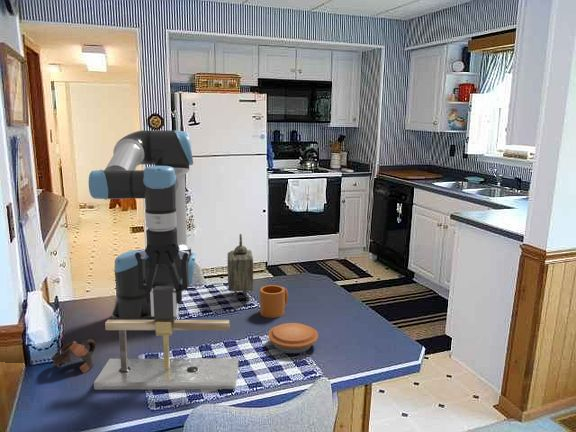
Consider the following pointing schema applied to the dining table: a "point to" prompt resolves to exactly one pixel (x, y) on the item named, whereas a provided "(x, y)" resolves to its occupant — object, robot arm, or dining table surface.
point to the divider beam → (150, 325)
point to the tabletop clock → (240, 270)
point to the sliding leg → (164, 317)
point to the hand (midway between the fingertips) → (165, 314)
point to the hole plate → (169, 374)
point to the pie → (293, 337)
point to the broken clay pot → (76, 354)
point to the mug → (273, 301)
